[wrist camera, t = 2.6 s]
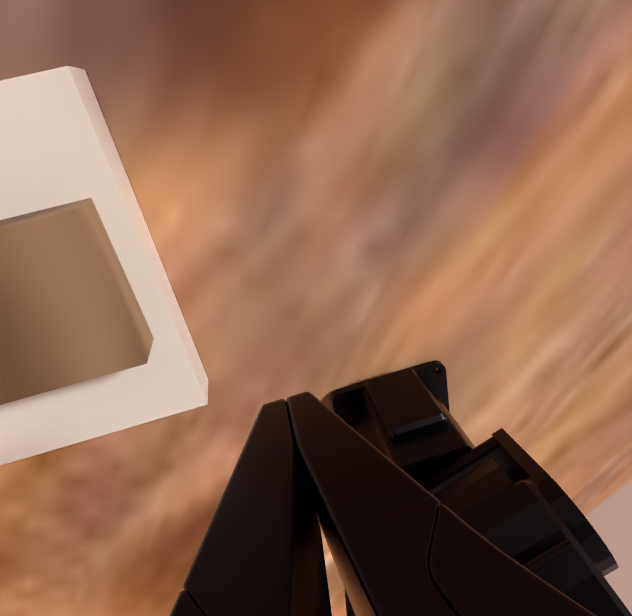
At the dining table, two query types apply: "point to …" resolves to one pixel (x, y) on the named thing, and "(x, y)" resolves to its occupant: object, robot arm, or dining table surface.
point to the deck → (129, 244)
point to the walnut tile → (64, 303)
